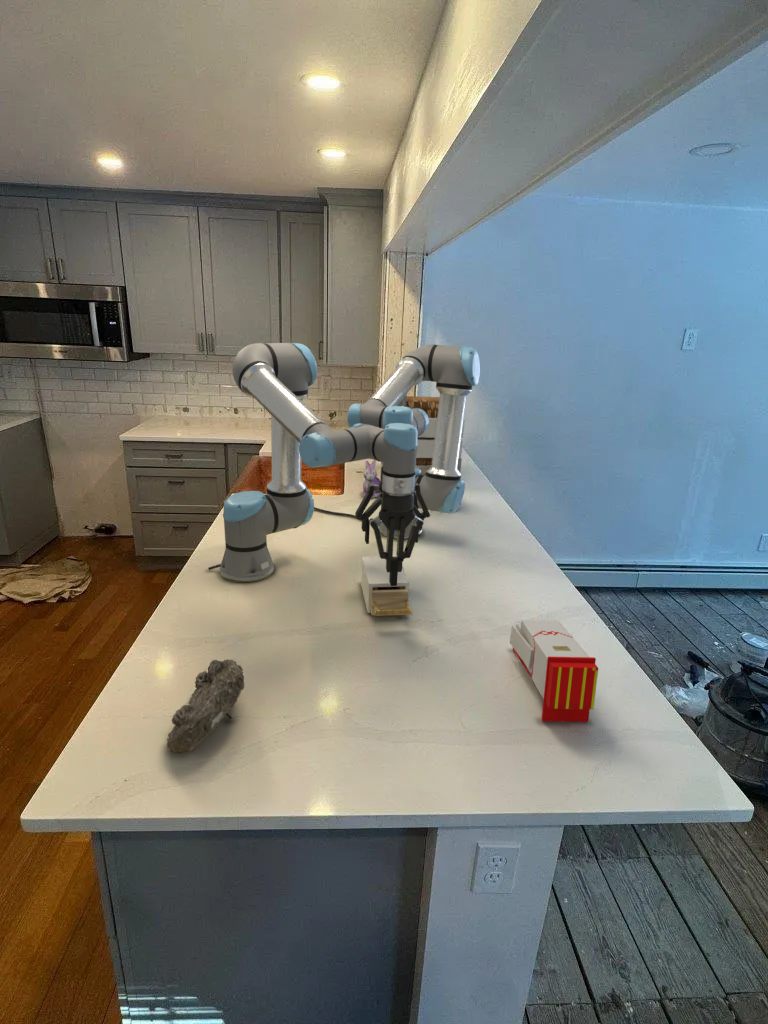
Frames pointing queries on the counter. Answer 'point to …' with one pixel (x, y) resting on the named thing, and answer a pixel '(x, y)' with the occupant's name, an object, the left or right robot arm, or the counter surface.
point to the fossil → (206, 705)
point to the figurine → (370, 478)
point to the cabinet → (377, 577)
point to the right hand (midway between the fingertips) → (391, 541)
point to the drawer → (390, 601)
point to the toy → (556, 669)
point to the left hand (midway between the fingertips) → (393, 583)
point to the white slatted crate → (428, 436)
